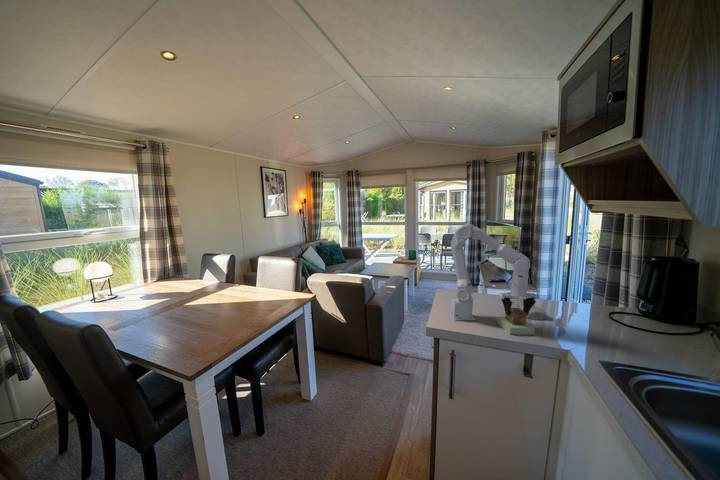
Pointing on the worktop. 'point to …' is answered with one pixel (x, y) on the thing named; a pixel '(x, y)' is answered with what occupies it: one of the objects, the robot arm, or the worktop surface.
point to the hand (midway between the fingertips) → (516, 314)
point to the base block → (516, 327)
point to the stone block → (534, 313)
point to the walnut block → (516, 317)
